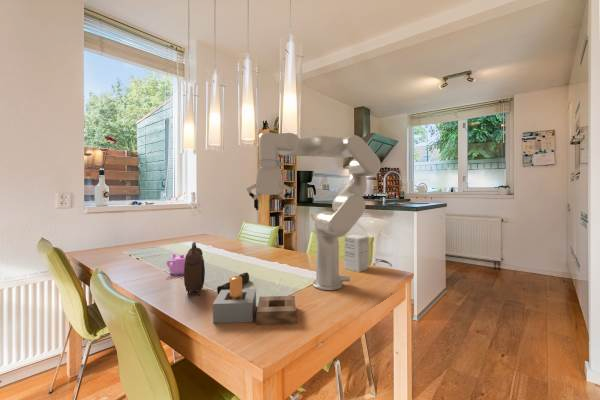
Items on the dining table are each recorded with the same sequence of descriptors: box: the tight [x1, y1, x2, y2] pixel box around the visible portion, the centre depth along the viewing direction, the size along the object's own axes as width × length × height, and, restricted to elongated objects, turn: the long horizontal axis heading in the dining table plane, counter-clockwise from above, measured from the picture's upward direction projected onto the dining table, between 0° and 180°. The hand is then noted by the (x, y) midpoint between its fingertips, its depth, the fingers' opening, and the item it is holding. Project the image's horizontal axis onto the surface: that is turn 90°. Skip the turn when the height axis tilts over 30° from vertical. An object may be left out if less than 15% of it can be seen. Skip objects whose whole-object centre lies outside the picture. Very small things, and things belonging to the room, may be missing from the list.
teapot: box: [166, 252, 186, 276], centre depth 139 cm, size 12×14×9 cm
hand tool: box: [216, 272, 250, 296], centre depth 117 cm, size 19×4×5 cm, turn 153°
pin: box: [229, 275, 243, 300], centre depth 92 cm, size 4×4×12 cm
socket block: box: [212, 288, 257, 324], centre depth 92 cm, size 12×12×6 cm
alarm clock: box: [183, 241, 206, 296], centre depth 112 cm, size 15×7×20 cm, turn 17°
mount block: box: [256, 295, 297, 326], centre depth 91 cm, size 12×12×4 cm
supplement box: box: [343, 234, 370, 273], centre depth 144 cm, size 10×9×17 cm
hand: (269, 209), depth 109 cm, fingers open, 9 cm apart
